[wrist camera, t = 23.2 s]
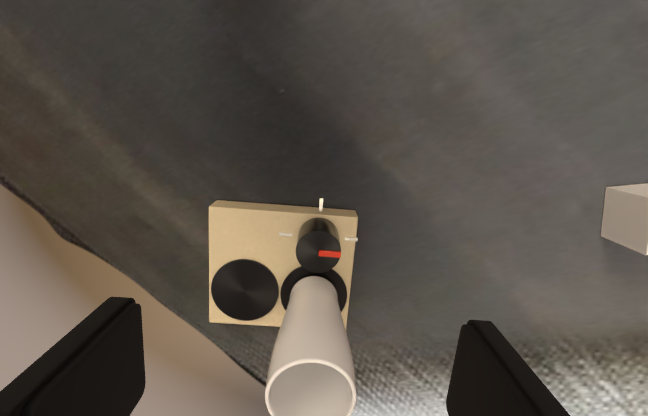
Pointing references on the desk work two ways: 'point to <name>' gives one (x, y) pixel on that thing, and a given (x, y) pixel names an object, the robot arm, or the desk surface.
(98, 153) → the desk surface
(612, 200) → the white cube
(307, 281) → the drinking glass
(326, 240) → the hob knob
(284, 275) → the hot plate
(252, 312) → the burner
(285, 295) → the burner
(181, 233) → the desk surface
